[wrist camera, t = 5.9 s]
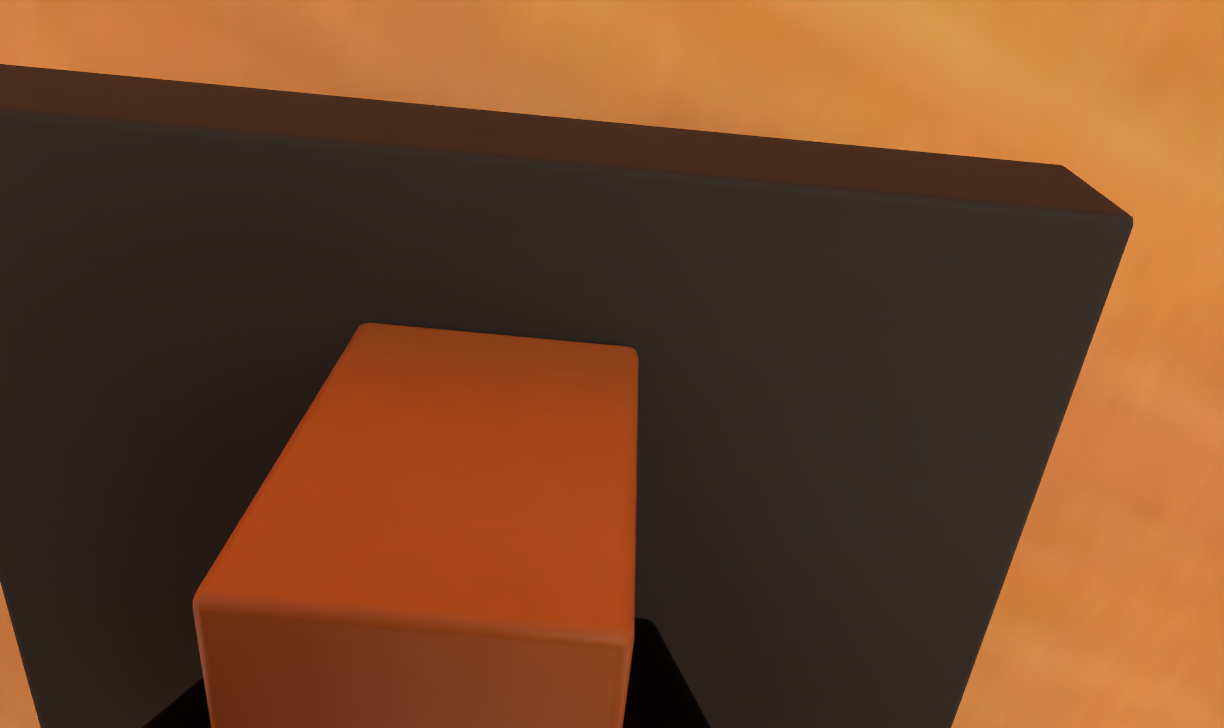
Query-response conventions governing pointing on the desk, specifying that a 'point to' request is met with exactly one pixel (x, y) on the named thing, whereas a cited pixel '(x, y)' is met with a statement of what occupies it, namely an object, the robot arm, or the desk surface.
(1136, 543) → the desk surface
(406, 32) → the desk surface
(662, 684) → the robot arm
